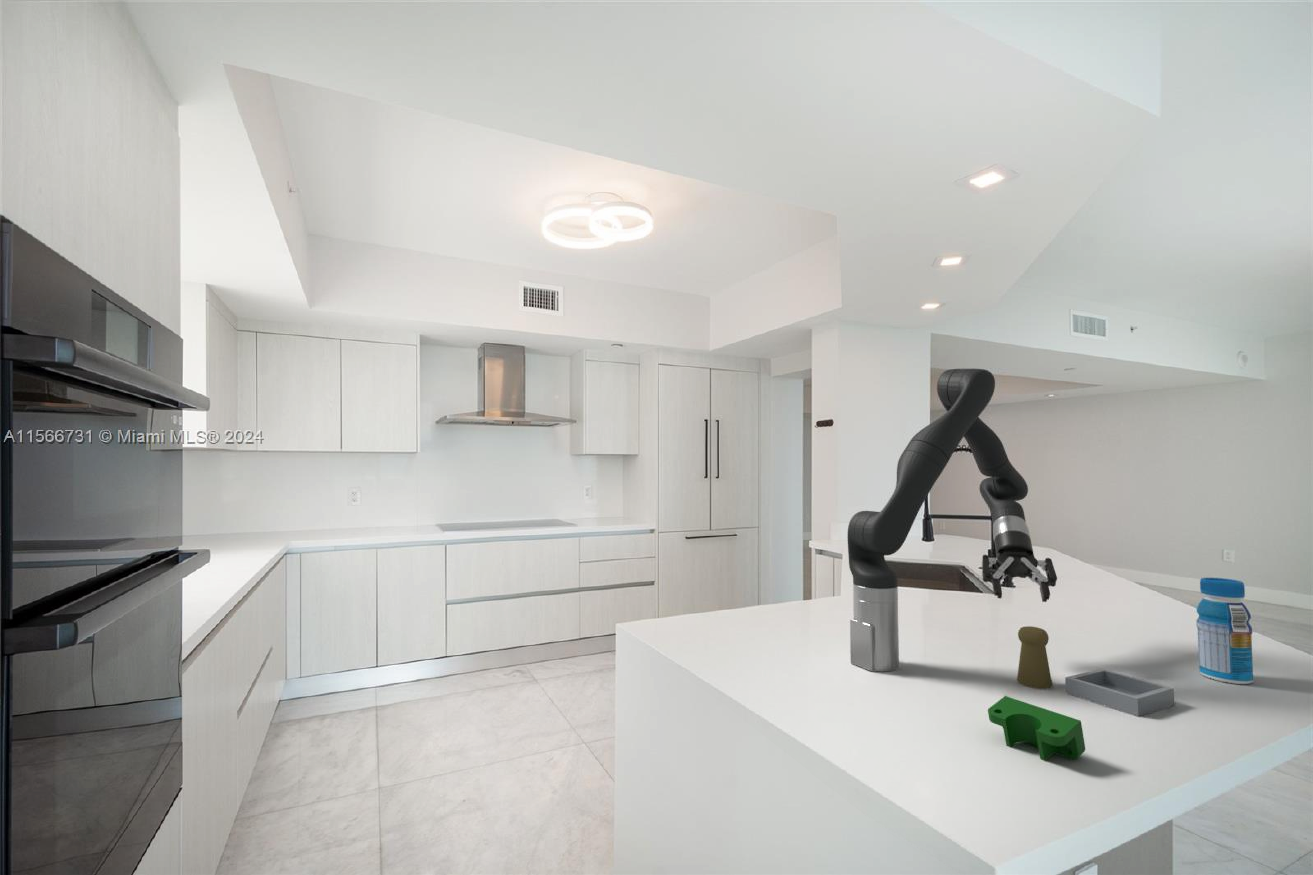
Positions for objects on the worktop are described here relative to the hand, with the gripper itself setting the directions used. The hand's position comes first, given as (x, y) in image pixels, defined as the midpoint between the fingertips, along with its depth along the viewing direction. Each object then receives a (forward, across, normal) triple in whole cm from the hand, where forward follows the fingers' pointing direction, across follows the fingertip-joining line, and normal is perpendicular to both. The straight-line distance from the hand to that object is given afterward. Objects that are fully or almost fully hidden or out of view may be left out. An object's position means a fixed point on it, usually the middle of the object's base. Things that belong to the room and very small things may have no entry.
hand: (1022, 598), depth 132 cm
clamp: (+42, -6, -21) cm, 47 cm away
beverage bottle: (+5, +37, +16) cm, 41 cm away
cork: (+18, 0, +3) cm, 19 cm away
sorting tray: (+21, +13, 0) cm, 24 cm away
